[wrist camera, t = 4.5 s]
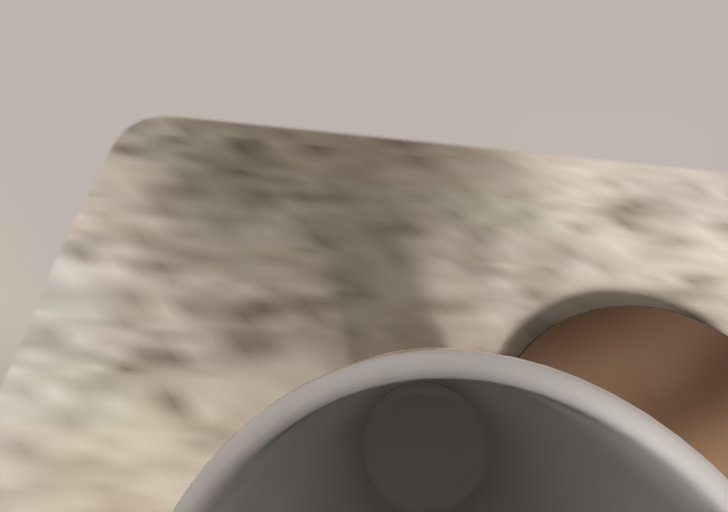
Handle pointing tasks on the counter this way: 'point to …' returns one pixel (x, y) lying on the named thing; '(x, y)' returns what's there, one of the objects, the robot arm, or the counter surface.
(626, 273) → the counter surface
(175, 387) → the counter surface
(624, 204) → the counter surface
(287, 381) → the counter surface
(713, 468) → the white tapered cylinder
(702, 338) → the walnut coaster
